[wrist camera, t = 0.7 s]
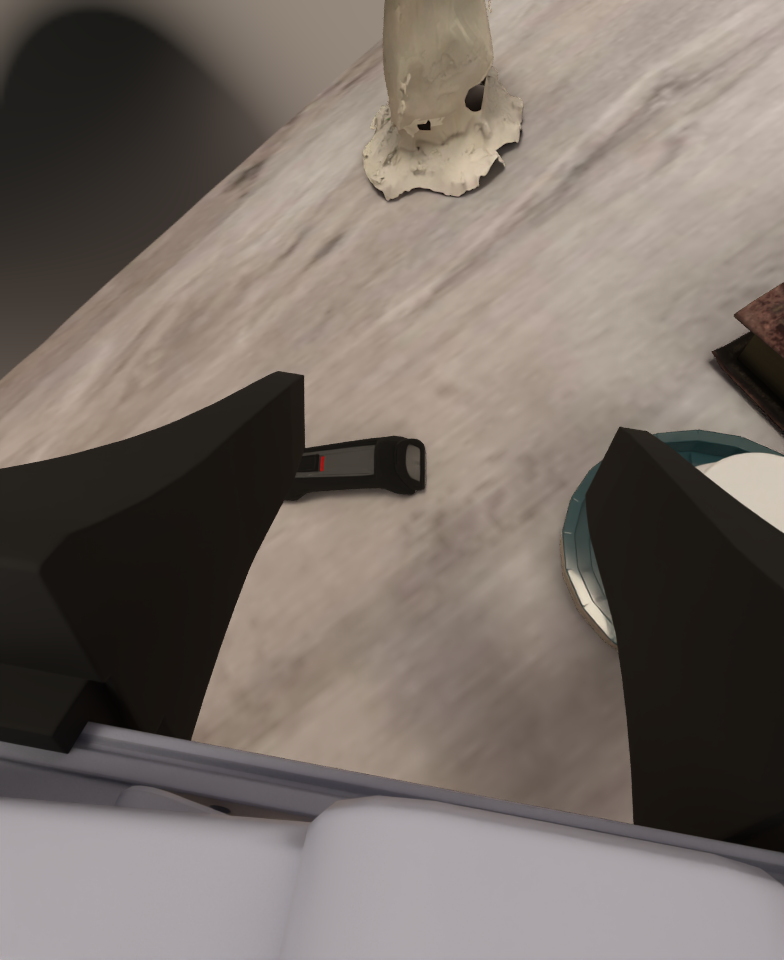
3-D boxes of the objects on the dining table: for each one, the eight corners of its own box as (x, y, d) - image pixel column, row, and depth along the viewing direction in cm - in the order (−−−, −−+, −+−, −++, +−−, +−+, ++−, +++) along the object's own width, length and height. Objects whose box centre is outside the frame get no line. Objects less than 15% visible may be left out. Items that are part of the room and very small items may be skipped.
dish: (877, 637, 21) (931, 637, 18) (619, 709, 23) (631, 719, 20) (733, 422, 26) (758, 394, 23) (527, 497, 27) (526, 481, 25)
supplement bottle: (725, 499, 24) (832, 418, 15) (759, 607, 22) (904, 587, 13) (612, 513, 26) (651, 447, 17) (636, 616, 24) (694, 603, 15)
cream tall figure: (387, 97, 42) (284, -258, 25) (535, 73, 38) (529, -376, 21) (353, 203, 39) (214, -120, 22) (510, 191, 35) (480, -223, 18)
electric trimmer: (223, 460, 35) (195, 444, 32) (426, 441, 30) (413, 421, 28) (216, 509, 34) (186, 497, 31) (425, 497, 29) (412, 482, 26)
